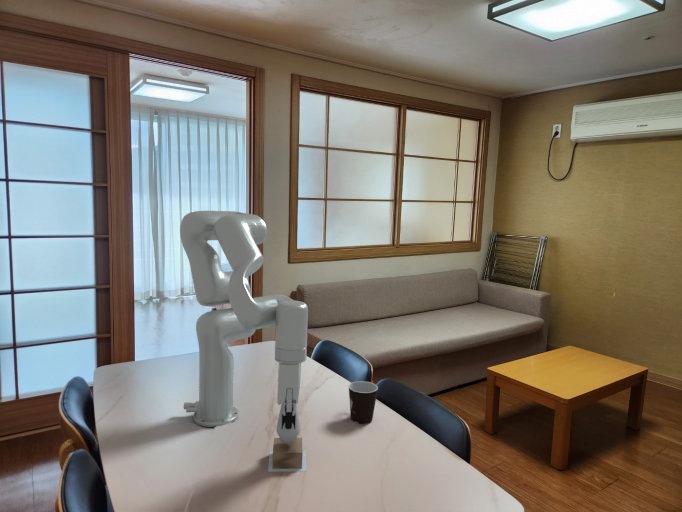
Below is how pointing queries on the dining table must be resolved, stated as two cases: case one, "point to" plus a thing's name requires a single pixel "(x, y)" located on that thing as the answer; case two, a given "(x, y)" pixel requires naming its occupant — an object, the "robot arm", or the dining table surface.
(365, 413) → the coffee mug
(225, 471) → the dining table surface
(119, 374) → the dining table surface
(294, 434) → the salt shaker
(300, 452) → the base block
